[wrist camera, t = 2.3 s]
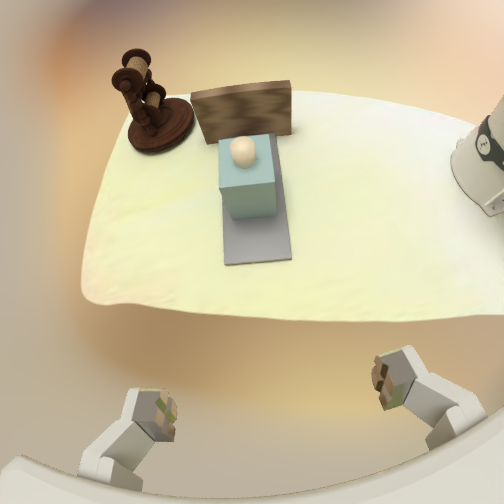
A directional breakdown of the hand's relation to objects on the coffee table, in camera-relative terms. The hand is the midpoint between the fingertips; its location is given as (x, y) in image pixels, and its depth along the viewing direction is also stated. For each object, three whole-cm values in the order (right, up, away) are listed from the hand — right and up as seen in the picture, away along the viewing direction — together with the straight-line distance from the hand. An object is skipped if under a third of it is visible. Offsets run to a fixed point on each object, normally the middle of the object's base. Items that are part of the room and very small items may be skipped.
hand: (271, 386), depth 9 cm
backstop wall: (-1, +27, +40) cm, 48 cm away
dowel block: (-1, +14, +35) cm, 38 cm away
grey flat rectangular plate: (-1, +15, +36) cm, 39 cm away
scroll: (-20, +31, +43) cm, 57 cm away
